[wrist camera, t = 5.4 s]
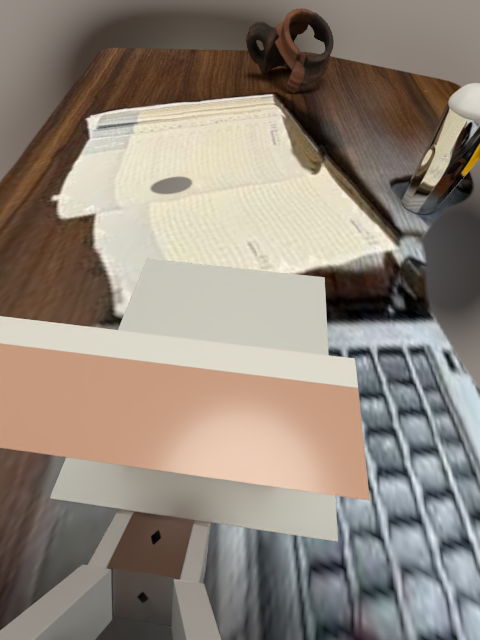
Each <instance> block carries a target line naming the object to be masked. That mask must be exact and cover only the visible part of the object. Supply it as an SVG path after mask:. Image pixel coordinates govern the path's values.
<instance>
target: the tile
mask: <svg viewBox="0 0 480 640" xmlns="http://www.w3.org/2000/svg"><path fill="white" fill-rule="evenodd" d="M0 448H5V449H12V450H19V451H26V452H33V453H40V454H47V455H54V456H60V457H67V458H74V459H81V460H88V461H95V462H102V463H109V464H116V465H123V466H130V467H137V468H144V469H151V470H158V471H165V472H172V473H179V474H186V475H193V476H200V477H207V478H214V479H221V480H228V481H235V482H242V483H249V484H256V485H263V486H270V487H277V488H284V489H291V490H299V491H306V492H313V493H320V494H328V495H335V496H342V497H349V498H356V499H364V500H370V499H369V489H368V480H367V470H366V460H365V451H364V441H363V432H362V422H361V412H360V403H359V393H358V384H357V374H356V364H355V359H353V358H345V357H336V356H328V355H320V354H311V353H303V352H295V351H286V350H278V349H270V348H261V347H253V346H245V345H236V344H228V343H219V342H211V341H203V340H194V339H186V338H178V337H169V336H161V335H153V334H144V333H136V332H128V331H119V330H111V329H102V328H94V327H86V326H77V325H69V324H61V323H52V322H44V321H36V320H27V319H19V318H11V317H2V316H0Z"/></svg>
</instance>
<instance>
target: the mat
mask: <svg viewBox="0 0 480 640" xmlns="http://www.w3.org/2000/svg"><path fill="white" fill-rule="evenodd" d="M118 330H119V331H128V332H136V333H144V334H153V335H161V336H169V337H178V338H186V339H194V340H203V341H211V342H219V343H228V344H236V345H245V346H253V347H261V348H270V349H278V350H286V351H295V352H303V353H311V354H320V355H328V337H327V317H326V297H325V278H324V277H314V276H305V275H296V274H286V273H277V272H268V271H258V270H249V269H240V268H230V267H221V266H211V265H202V264H193V263H183V262H174V261H165V260H155V259H147V260H146V262H145V265H144V267H143V270H142V272H141V274H140V277H139V279H138V282H137V284H136V287H135V289H134V292H133V294H132V297H131V299H130V302H129V304H128V307H127V309H126V311H125V314H124V316H123V319H122V321H121V324H120V326H119V329H118ZM50 498H52V499H58V500H65V501H72V502H78V503H85V504H92V505H98V506H105V507H112V508H118V509H125V510H132V511H138V512H145V513H151V514H158V515H165V516H171V517H178V518H185V519H191V520H198V521H205V522H211V523H218V524H225V525H231V526H238V527H245V528H251V529H258V530H265V531H271V532H278V533H285V534H291V535H298V536H305V537H311V538H318V539H324V540H331V541H338V536H337V516H336V496H335V495H328V494H320V493H313V492H306V491H299V490H291V489H284V488H277V487H270V486H263V485H256V484H249V483H242V482H235V481H228V480H221V479H214V478H207V477H200V476H193V475H186V474H179V473H172V472H165V471H158V470H151V469H144V468H137V467H130V466H123V465H116V464H109V463H102V462H95V461H88V460H81V459H74V458H67V457H66V459H65V462H64V464H63V467H62V469H61V472H60V474H59V477H58V479H57V482H56V484H55V487H54V489H53V492H52V494H51V496H50Z"/></svg>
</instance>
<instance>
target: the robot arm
mask: <svg viewBox="0 0 480 640" xmlns="http://www.w3.org/2000/svg"><path fill="white" fill-rule="evenodd" d="M209 535H210V523H209V522H202V521H195V520H191V519H183V518H176V517H168V516H165V517H162V516H157V515H151V514H146V513H140V512H135V511H128V510H122V509H120V510H119V511H118V512H117V513H116V514H115V516H114V518H113V520H112V521H111V523H110V525H109V527H108V529H107V530H106V532H105V534H104V536H103V538H102V539H101V541H100V543H99V545H98V547H97V548H96V550H95V552H94V554H93V556H92V557H91V559H90V561H89V563H88V565H81V566H80V567H79V568H77V569H76V570H75V571H74V572H72V573H71V574H70V575H69V576H67V577H66V578H65V579H64V580H63V581H61V582H60V583H59V584H58V585H56V586H55V587H54V588H53V589H51V590H50V591H49V592H48V593H46V594H45V595H44V596H43V597H41V598H40V599H39V600H38V601H36V602H35V603H34V604H33V605H31V606H30V607H29V608H28V609H26V610H25V611H24V612H23V613H21V614H20V615H19V616H18V617H17V618H15V619H14V620H13V621H12V622H10V623H9V624H8V625H7V626H5V627H4V628H3V629H2V630H0V640H95V639H96V638H97V637H98V636H99V635H100V633H101V632H102V631H103V630H104V629H105V627H106V626H107V625H108V624H109V623H110V622H111V620H112V617H117V618H125V619H133V620H141V621H147V622H152V623H156V624H161V625H166V626H171V630H172V636H173V640H221V637H220V633H219V630H218V627H217V624H216V620H215V617H214V614H213V611H212V607H211V604H210V601H209V597H208V594H207V591H206V588H205V584H203V582H204V576H205V570H206V562H207V554H208V545H209Z"/></svg>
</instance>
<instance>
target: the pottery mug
mask: <svg viewBox="0 0 480 640" xmlns="http://www.w3.org/2000/svg"><path fill="white" fill-rule="evenodd" d="M308 25H310V26H311V27H312V28H313V30H314V33H315V35H314V37H315V38H316V39H318V40H320V41H322V42H324V44H325V52H324V53H322V54H320V55H318V56H312V55H306V58H305V62H304V65H303V64H302V63H300V62H299V60H300V58H301V54H299V49H298V48H297V46H296V45H295V44H294V40H295V38H296V36H297V35H298V34H302V33H303V32H304V31H305V30H306V29H307V27H308ZM256 40H260V41H261V42H262V43H263V46H264V50H262V51H261V50H260V49H259V47H258V46H257V43H256ZM246 42H247V48H248V52H249V54H250V56H251V58H252V59H253V61H254V62H255V63H257V64H258V65H259V67H260V70H261V73H262V74H268V72H269V71H270V70H271V69H272V68H275V67H277V66H285V67H287V68H290V69H291V70H292V72H291V75H290V78H289V80H288V81H287V82H286V90H288V91H289V92H291V93H293V94H294V93H295V92H296V91H297V90H299V88H300V86H301V85H302V86H305V85H307V84H309V83H311V82H313V81H315V80H317V79H318V78H320V77H321V76H322V75H323V74H324V70H326V69H327V67H328V64H329V58H330V54H331V51H332V49H333V35H332V32H331V30H330V28H329V26H328V24H327V23H326V22H325V20H323V18H322V17H320V16H319V15H318V14H316V13H313V12H312V11H310V10H307V9H295V10H292V11H291V12H290V13H289V14H288V15H287V16H286V18H285V20H284V21H283V22H282V23H280V24H279V25H278V26H277V27H275V28H272V27H270V26H269V25H268V24H266V23H264V22H257V23H255V24H253V25H252V26H251V27H250V29H249V32H248V34H247V36H246Z"/></svg>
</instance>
